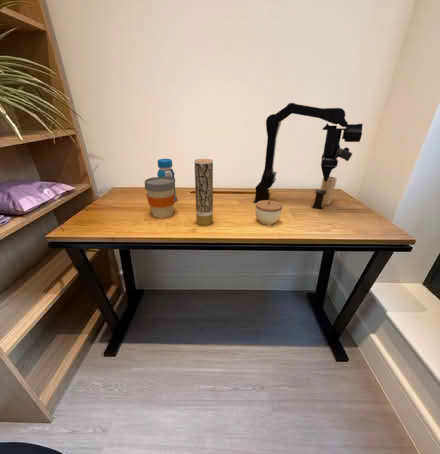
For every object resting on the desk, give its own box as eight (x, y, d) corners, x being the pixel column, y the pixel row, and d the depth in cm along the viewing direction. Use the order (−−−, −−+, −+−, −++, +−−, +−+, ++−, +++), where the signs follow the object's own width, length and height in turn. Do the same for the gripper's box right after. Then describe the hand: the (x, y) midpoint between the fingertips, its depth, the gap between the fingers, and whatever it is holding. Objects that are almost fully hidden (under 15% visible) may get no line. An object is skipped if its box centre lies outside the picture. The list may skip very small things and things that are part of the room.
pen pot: (317, 203, 127) (322, 178, 121) (318, 199, 132) (323, 175, 126) (330, 205, 125) (336, 180, 119) (330, 201, 131) (336, 177, 124)
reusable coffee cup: (142, 216, 109) (137, 182, 102) (158, 207, 119) (154, 175, 112) (168, 221, 105) (164, 186, 98) (181, 211, 116) (179, 178, 108)
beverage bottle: (157, 202, 125) (152, 161, 115) (163, 197, 132) (159, 157, 122) (173, 204, 123) (170, 162, 114) (178, 198, 131) (176, 158, 121)
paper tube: (206, 227, 101) (205, 163, 89) (193, 223, 104) (190, 160, 92) (215, 221, 106) (216, 160, 94) (202, 217, 109) (201, 158, 97)
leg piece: (311, 208, 121) (315, 192, 117) (312, 204, 125) (315, 189, 121) (322, 209, 120) (325, 193, 116) (322, 206, 124) (326, 190, 120)
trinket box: (282, 227, 102) (285, 205, 97) (255, 227, 102) (257, 205, 97) (277, 217, 111) (280, 196, 107) (253, 216, 111) (254, 196, 107)
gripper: (355, 144, 96) (346, 185, 103) (351, 139, 111) (343, 175, 118) (324, 144, 99) (317, 183, 107) (324, 139, 115) (318, 174, 122)
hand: (325, 178), depth 113 cm, fingers open, 9 cm apart
